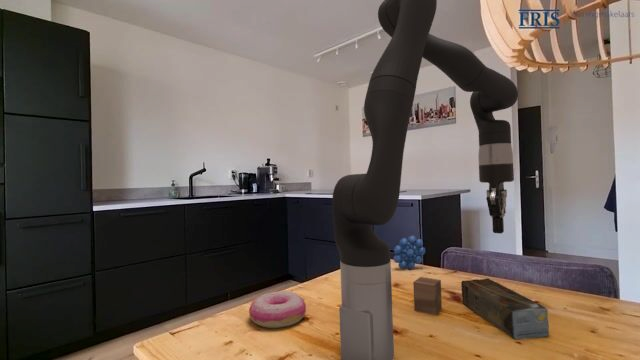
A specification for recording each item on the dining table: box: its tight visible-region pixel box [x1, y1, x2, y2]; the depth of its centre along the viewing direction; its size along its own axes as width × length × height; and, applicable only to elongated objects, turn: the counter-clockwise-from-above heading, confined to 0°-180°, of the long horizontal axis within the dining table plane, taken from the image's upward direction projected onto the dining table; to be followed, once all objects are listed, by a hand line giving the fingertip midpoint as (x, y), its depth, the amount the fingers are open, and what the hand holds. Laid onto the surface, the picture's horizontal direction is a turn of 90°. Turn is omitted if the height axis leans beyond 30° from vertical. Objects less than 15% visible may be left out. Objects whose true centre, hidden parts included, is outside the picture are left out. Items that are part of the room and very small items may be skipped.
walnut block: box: [412, 276, 443, 316], centre depth 77 cm, size 5×5×7 cm
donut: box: [248, 290, 307, 329], centre depth 75 cm, size 14×13×5 cm
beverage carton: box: [460, 278, 550, 340], centre depth 71 cm, size 8×19×7 cm, turn 5°
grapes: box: [393, 235, 426, 270], centre depth 113 cm, size 12×7×12 cm, turn 93°
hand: (498, 232), depth 78 cm, fingers closed
